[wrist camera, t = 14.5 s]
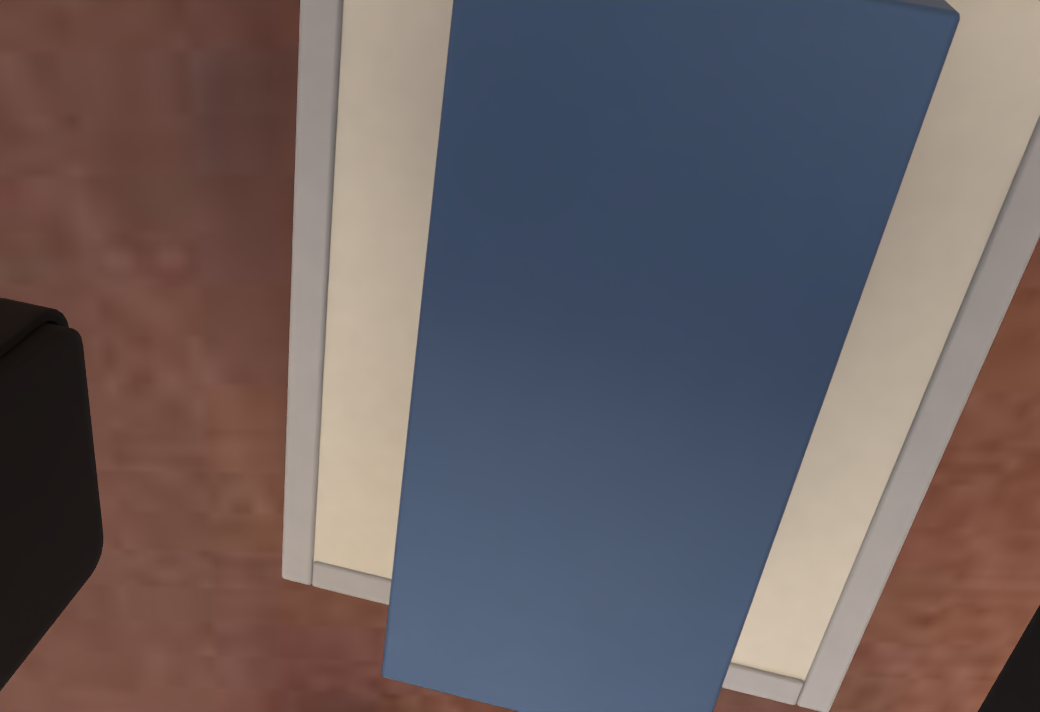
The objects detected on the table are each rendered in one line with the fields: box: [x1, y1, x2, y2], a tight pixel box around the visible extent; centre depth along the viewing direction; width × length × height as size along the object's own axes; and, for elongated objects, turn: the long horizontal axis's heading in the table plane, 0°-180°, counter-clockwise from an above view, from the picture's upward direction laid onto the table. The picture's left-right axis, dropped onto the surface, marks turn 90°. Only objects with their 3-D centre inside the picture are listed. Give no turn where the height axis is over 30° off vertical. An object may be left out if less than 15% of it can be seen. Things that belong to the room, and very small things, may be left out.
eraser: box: [382, 0, 960, 712], centre depth 15 cm, size 11×5×5 cm, turn 172°
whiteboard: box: [282, 0, 1040, 712], centre depth 15 cm, size 26×12×1 cm, turn 172°
